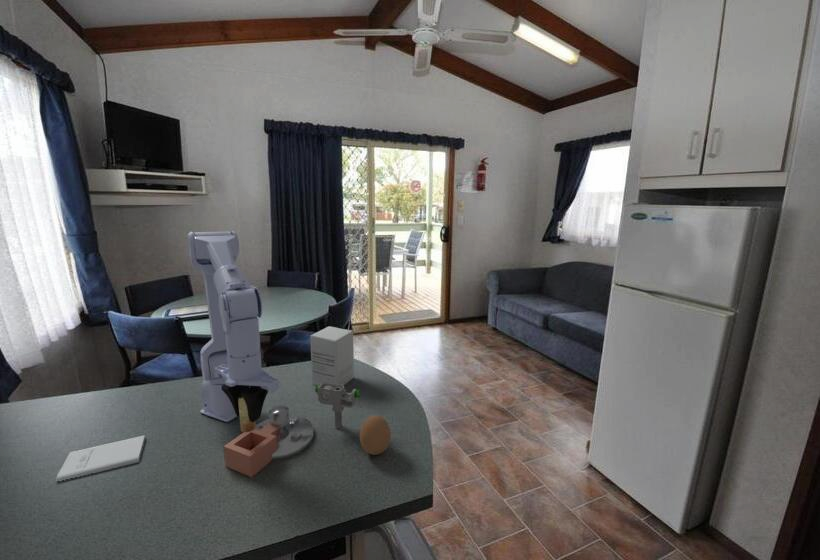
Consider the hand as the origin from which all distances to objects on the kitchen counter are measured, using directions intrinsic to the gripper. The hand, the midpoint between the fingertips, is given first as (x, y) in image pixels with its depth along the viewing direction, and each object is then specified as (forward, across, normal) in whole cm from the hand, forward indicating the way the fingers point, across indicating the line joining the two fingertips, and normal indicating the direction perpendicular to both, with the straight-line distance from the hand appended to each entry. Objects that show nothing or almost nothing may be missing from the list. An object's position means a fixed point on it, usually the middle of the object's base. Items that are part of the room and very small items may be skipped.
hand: (248, 417), depth 72 cm
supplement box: (+10, -5, +35) cm, 37 cm away
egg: (+10, +21, +13) cm, 27 cm away
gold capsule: (+2, 0, 0) cm, 2 cm away
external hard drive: (+11, -27, -12) cm, 31 cm away
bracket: (+10, 0, +2) cm, 10 cm away
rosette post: (+10, 0, +8) cm, 13 cm away
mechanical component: (+10, +9, +17) cm, 22 cm away
